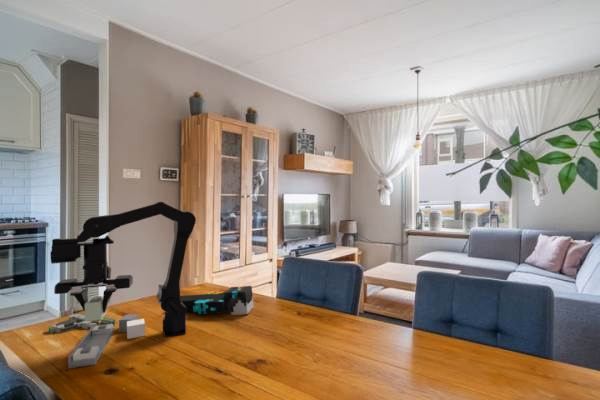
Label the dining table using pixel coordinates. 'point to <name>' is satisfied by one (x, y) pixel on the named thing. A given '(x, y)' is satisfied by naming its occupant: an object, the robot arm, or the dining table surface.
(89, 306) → the module
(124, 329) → the white block
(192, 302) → the toy
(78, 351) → the rail
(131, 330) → the block
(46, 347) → the dining table surface
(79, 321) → the futuristic handgun
